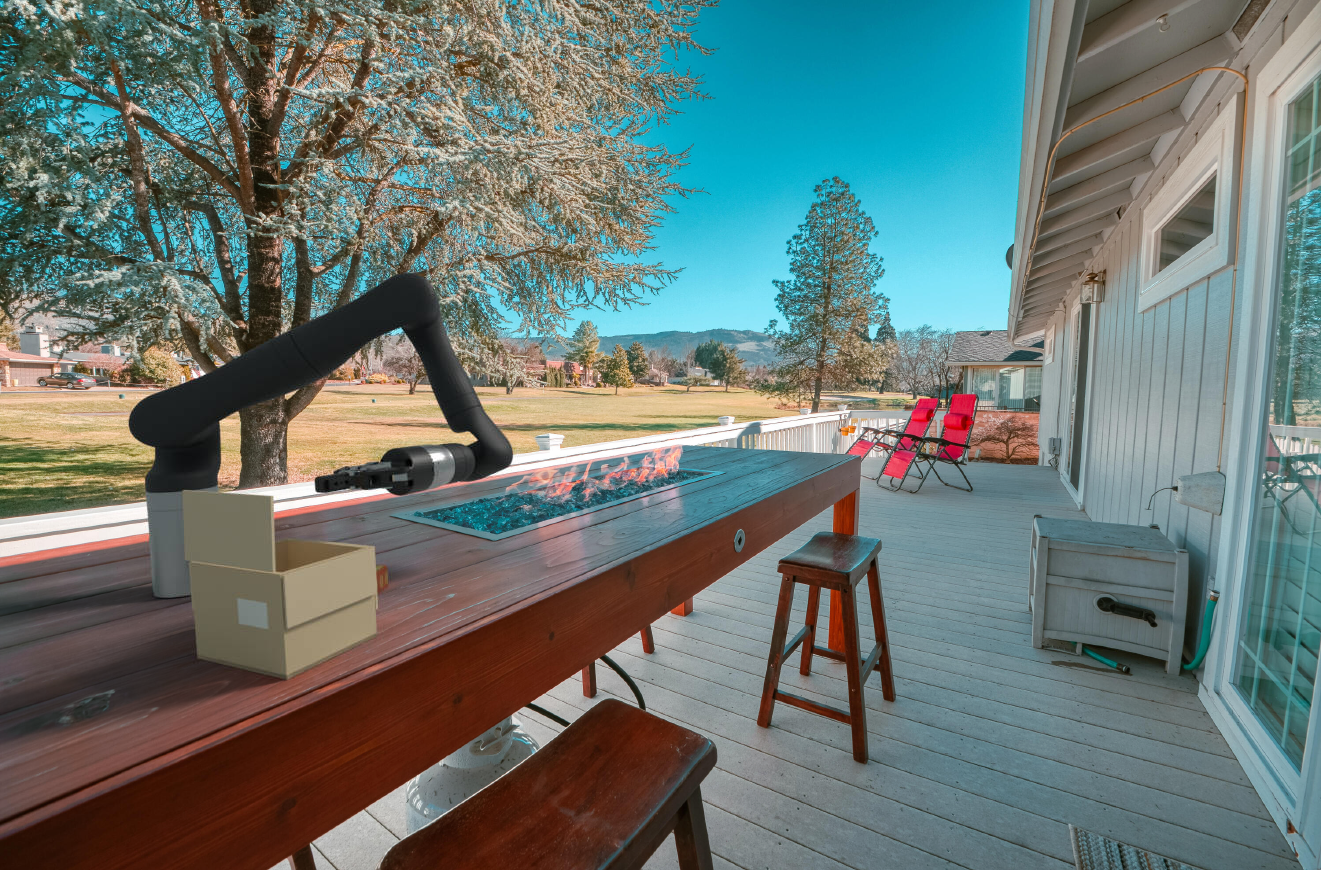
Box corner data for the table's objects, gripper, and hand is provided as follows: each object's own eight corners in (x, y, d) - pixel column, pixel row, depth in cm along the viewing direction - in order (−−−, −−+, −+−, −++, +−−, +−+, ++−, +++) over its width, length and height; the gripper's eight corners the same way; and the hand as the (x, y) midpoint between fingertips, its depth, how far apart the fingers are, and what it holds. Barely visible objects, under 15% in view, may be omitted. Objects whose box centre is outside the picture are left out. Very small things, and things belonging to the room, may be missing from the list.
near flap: (187, 559, 67) (184, 560, 67) (185, 490, 67) (182, 490, 66) (275, 571, 61) (272, 572, 61) (273, 495, 61) (270, 496, 61)
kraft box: (194, 657, 68) (186, 561, 67) (294, 619, 80) (289, 537, 79) (289, 680, 62) (282, 575, 61) (382, 635, 74) (378, 546, 73)
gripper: (386, 445, 92) (282, 456, 76) (449, 445, 87) (352, 457, 71) (389, 490, 93) (286, 510, 77) (452, 492, 88) (356, 515, 72)
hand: (318, 485), depth 74 cm, fingers closed
